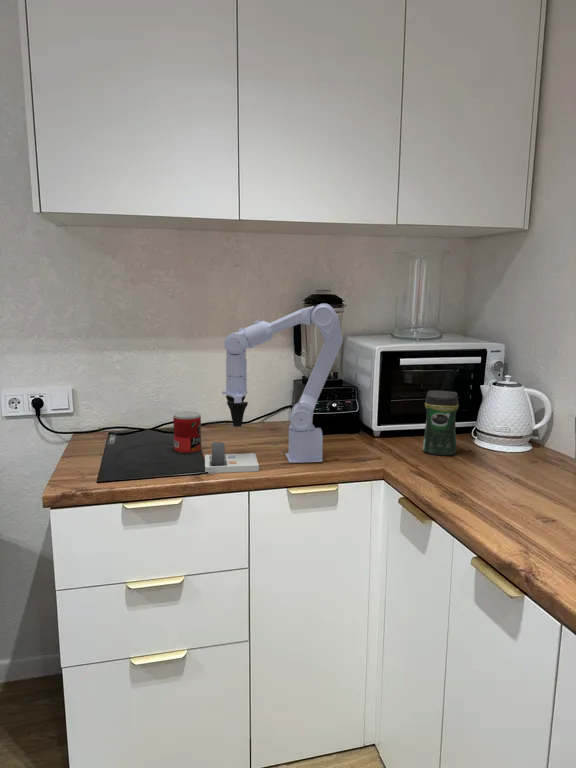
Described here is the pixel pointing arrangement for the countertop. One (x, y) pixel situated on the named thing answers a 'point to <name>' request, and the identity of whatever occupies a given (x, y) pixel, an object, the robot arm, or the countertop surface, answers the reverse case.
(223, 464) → the plug
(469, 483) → the countertop surface
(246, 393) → the robot arm
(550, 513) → the countertop surface
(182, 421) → the canned food
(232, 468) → the socket board
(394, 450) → the countertop surface
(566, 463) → the countertop surface
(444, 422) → the coffee jar
